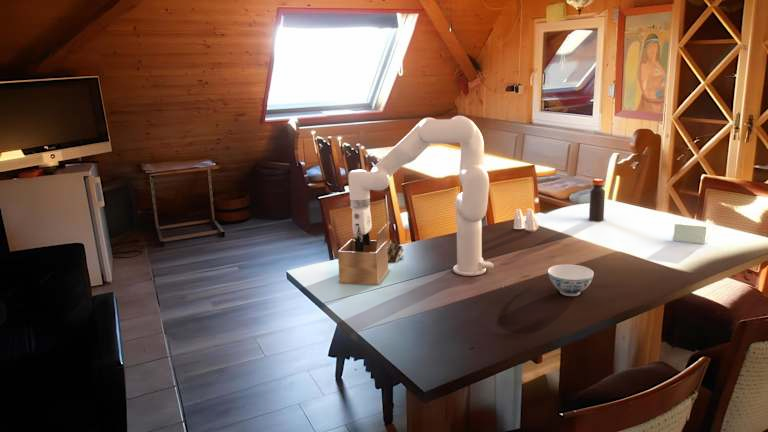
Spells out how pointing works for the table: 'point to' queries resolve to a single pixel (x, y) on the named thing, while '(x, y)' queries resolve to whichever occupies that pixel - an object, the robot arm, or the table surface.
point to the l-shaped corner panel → (691, 233)
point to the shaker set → (530, 221)
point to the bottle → (597, 201)
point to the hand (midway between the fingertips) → (362, 247)
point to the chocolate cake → (394, 252)
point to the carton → (363, 263)
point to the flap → (382, 236)
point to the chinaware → (570, 278)
